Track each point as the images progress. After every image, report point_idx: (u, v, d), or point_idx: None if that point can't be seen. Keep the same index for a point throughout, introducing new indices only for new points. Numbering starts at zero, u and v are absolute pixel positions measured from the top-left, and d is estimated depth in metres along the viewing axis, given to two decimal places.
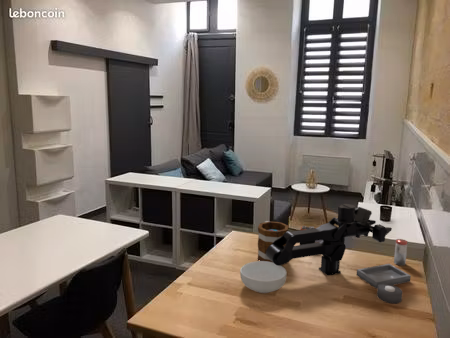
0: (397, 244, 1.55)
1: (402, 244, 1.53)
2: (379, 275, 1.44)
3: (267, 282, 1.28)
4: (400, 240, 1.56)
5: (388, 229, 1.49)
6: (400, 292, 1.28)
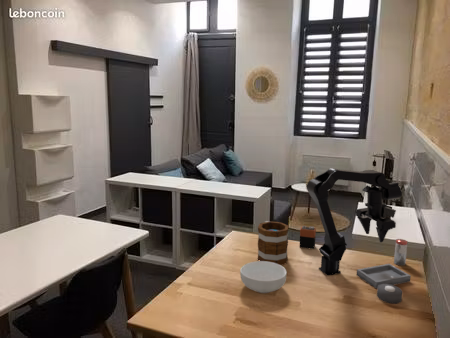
0: (397, 244, 1.55)
1: (402, 244, 1.53)
2: (379, 275, 1.44)
3: (267, 282, 1.28)
4: (400, 240, 1.56)
5: (383, 237, 1.46)
6: (400, 292, 1.28)
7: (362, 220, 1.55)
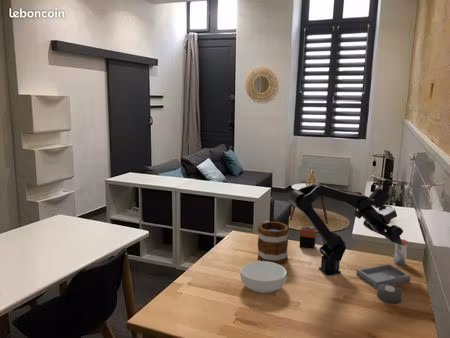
0: (397, 244, 1.55)
1: (402, 244, 1.53)
2: (379, 275, 1.44)
3: (267, 282, 1.28)
4: None
5: (399, 240, 1.48)
6: (400, 292, 1.28)
7: (373, 230, 1.57)
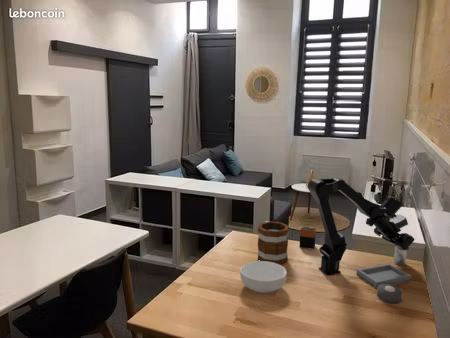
0: None
1: None
2: (379, 275, 1.44)
3: (267, 282, 1.28)
4: None
5: None
6: (400, 292, 1.28)
7: (387, 239, 1.57)
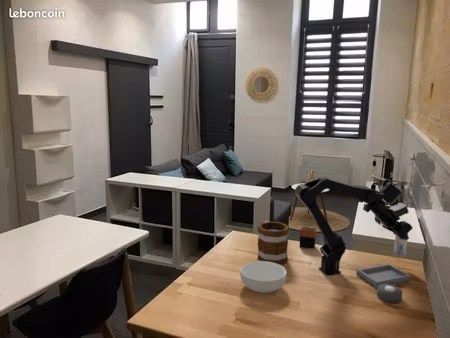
0: None
1: None
2: (379, 275, 1.44)
3: (267, 282, 1.28)
4: None
5: (406, 235, 1.47)
6: (400, 292, 1.28)
7: (387, 228, 1.52)
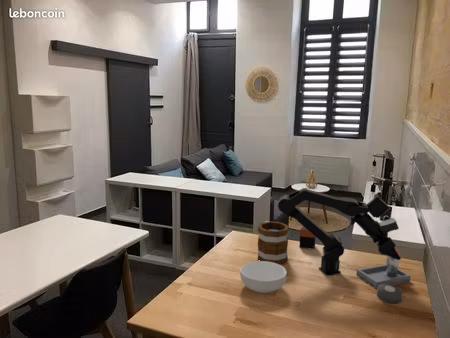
0: None
1: None
2: (379, 275, 1.44)
3: (267, 282, 1.28)
4: None
5: (396, 255, 1.38)
6: (400, 292, 1.28)
7: (378, 241, 1.48)
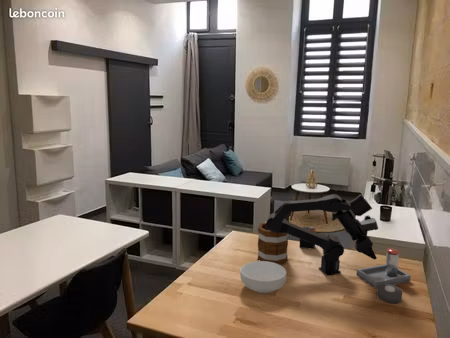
0: (387, 253, 1.43)
1: (391, 253, 1.41)
2: (379, 275, 1.44)
3: (267, 282, 1.28)
4: (392, 249, 1.44)
5: (373, 254, 1.39)
6: (400, 292, 1.28)
7: (357, 239, 1.50)
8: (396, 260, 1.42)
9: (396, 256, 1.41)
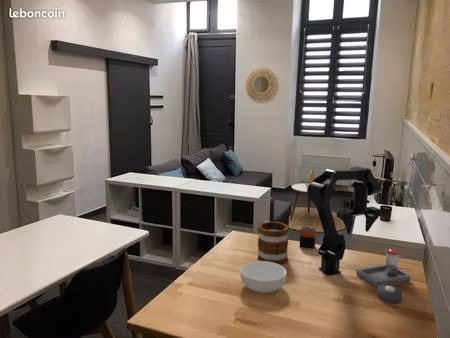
0: (386, 253, 1.43)
1: (390, 253, 1.42)
2: (379, 275, 1.44)
3: (267, 282, 1.28)
4: (392, 249, 1.44)
5: None
6: (400, 292, 1.28)
7: None
8: (396, 260, 1.42)
9: (396, 256, 1.41)
